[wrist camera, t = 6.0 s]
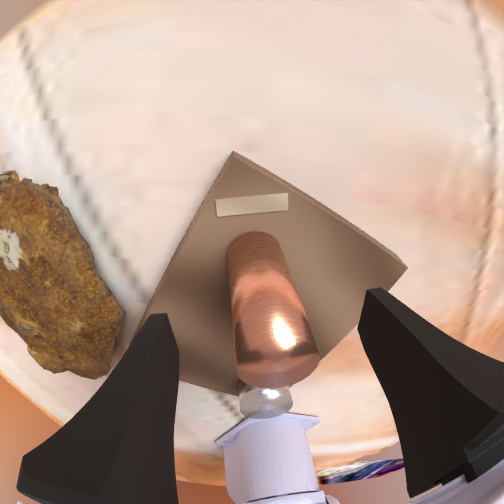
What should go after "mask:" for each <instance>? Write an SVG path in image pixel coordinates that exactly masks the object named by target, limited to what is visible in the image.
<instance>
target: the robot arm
mask: <svg viewBox="0 0 504 504" xmlns="http://www.w3.org/2000/svg"><path fill="white" fill-rule="evenodd" d="M357 329H358V332H359V335H360V338H361V342H362V344H363V347H364V350H365V353H366V355H367V357H368V359H369V361H370V363H371V365H372V367H373V369H374V372H375V374H376V376H377V378H378V380H379V382H380V384H381V386H382V388H383V390H384V393H385V395H386V397H387V400H388V402H389V405H390V408H391V411H392V414H393V417H394V421H395V424H396V428H397V432H398V436H399V440H400V443H401V449H402V454H403V459H404V465H405V472H406V482H407V491H408V494H409V497H410V498H413V497H415V496H417V495H419V494H421V493H423V492H426V491H427V490H430V489H431V488H434V487H435V486H437V485H439V484H441V483H442V487H440V488H438V489H436V490H434V491H432V492H431V493H429V494H426V495H424V496H422V497H421V498H418V499H416V500H414V501H411V502H409V503H407V504H504V362H501V361H498V360H496V359H493V358H491V357H489V356H486V355H484V354H482V353H480V352H478V351H476V350H474V349H472V348H470V347H468V346H466V345H464V344H462V343H461V342H459V341H457V340H455V339H454V338H452V337H450V336H449V335H447V334H446V333H444V332H443V331H441V330H440V329H438V328H437V327H435V326H434V325H432V324H431V323H429V322H428V321H426V320H425V319H424V318H422V317H421V316H419V315H418V314H417V313H415V312H414V311H413V310H411V309H410V308H409V307H407V306H406V305H405V304H403V303H402V302H401V301H399V300H398V299H397V298H395V297H394V296H393V295H391V294H390V293H388V292H387V291H386V290H384V289H383V288H381V287H379V288H373V289H367V290H366V294H365V299H364V303H363V308H362V312H361V316H360V320H359V324H358V328H357ZM179 366H180V364H179V348H178V346H177V343H176V340H175V337H174V334H173V331H172V328H171V325H170V321H169V318H168V315H167V313H158V314H150V315H149V316H148V318H147V320H146V321H145V323H144V324H143V326H142V328H141V329H140V331H139V332H138V334H137V335H136V337H135V339H134V340H133V342H132V343H131V345H130V346H129V348H128V349H127V351H126V352H125V354H124V355H123V357H122V359H121V360H120V361H119V363H118V364H117V366H116V367H115V368H114V370H113V371H112V373H111V374H110V375H109V377H108V378H107V379H106V381H105V382H104V383H103V385H102V386H101V387H100V388H99V389H98V391H97V392H96V393H95V394H94V395H93V397H92V398H91V399H90V400H89V401H88V402H87V403H86V404H85V405H84V406H83V408H82V409H81V410H80V411H79V412H78V413H77V414H76V415H75V416H74V417H73V418H72V419H71V420H70V421H69V422H67V423H66V424H65V425H64V426H63V427H62V428H61V429H59V430H58V431H57V432H56V433H55V434H53V435H52V436H51V437H50V438H48V439H47V440H46V441H45V442H43V443H42V444H40V445H39V446H37V447H36V448H35V449H33V450H32V451H30V452H29V453H27V454H25V455H24V456H23V459H22V463H21V467H20V472H19V476H18V481H17V487H16V488H17V490H18V491H19V492H20V493H22V494H23V495H25V496H27V497H29V498H31V499H33V500H35V501H37V502H39V503H41V504H179V503H178V495H177V488H176V477H175V463H174V422H175V412H176V403H177V394H178V385H179ZM320 421H321V419H320V417H314V416H306V415H298V414H291V413H284V414H282V415H280V416H277V417H273V418H268V419H253V418H249V417H248V418H247V419H245V420H244V421H243V422H241V423H240V424H239V425H237V426H236V427H235V428H233V429H232V430H231V431H229V432H228V433H227V434H225V435H224V436H222V437H221V438H220V439H218V440H217V441H216V445H219V446H223V452H224V466H225V479H226V488H227V491H228V494H229V495H230V497H231V498H232V500H233V501H234V502H235V503H237V504H340V503H339V502H338V500H337V499H335V498H333V497H332V496H330V495H328V496H325V495H324V491H320V490H319V486H318V482H317V477H316V473H315V469H314V465H313V460H312V456H311V452H310V448H309V444H308V439H307V435H306V431H307V430H308V429H310V428H312V427H313V426H315V425H316V424H318V423H319V422H320ZM17 504H26V503H23V502H21V501H18V502H17Z"/></svg>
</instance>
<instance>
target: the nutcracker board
mask: <svg viewBox="0 0 504 504" xmlns="http://www.w3.org/2000/svg"><path fill="white" fill-rule="evenodd" d="M253 231H261V232H265V233H268V234H270V235H272V236H273V237H275V238H276V239H277V241H278V242H279V243H280V246H281V248H282V251H283V253H284V256H285V259H286V262H287V264H288V267H289V270H290V272H291V275H292V278H293V280H294V283H295V286H296V289H297V291H298V294H299V297H300V300H301V302H302V305H303V308H304V311H305V314H306V316H307V319H308V322H309V325H310V328H311V330H312V333H313V336H314V339H315V342H316V345H317V348H318V350H319V354H320V360H321V359H322V358H324V357H325V356H326V355H327V354H328V353H329V352H330V351H331V350H332V349H333V348H334V347H335V346H336V345H337V344H338V343H339V342H340V341H341V340H342V339H343V338H344V337H345V336H346V335H347V334H348V333H349V332H350V331H351V330H352V329H353V328H354V327H355V326H356V325H357V324H358V323H359V320H360V316H361V312H362V308H363V303H364V299H365V294H366V290H367V289H373V288H379V287H381V288H383V289H384V290H386V291H387V292H388V291H389V290H390V289H391V287H392V286H393V285H394V284H395V283H396V282H397V280H398V279H399V278H400V277H401V276H402V275H403V273H404V272H405V271H406V270H407V269H408V267H407V266H406V265H405V264H404V263H403V262H402V260H401V259H400V258H399V257H398V256H397V255H396V254H395V253H393V252H392V251H391V250H389V249H388V248H386V247H385V246H384V245H382V244H381V243H379V242H378V241H377V240H375V239H374V238H372V237H371V236H369V235H368V234H367V233H365V232H364V231H362V230H361V229H359V228H358V227H356V226H355V225H353V224H352V223H350V222H349V221H347V220H346V219H344V218H343V217H341V216H340V215H338V214H337V213H335V212H334V211H332V210H331V209H329V208H328V207H326V206H325V205H323V204H322V203H320V202H318V201H317V200H315V199H314V198H312V197H311V196H309V195H307V194H306V193H304V192H303V191H301V190H299V189H298V188H296V187H294V186H293V185H291V184H290V183H288V182H286V181H285V180H283V179H281V178H280V177H278V176H276V175H275V174H273V173H271V172H269V171H268V170H266V169H264V168H263V167H261V166H259V165H257V164H256V163H254V162H252V161H250V160H249V159H247V158H245V157H243V156H242V155H240V154H238V153H236V152H234V151H233V152H232V154H231V155H230V157H229V159H228V160H227V162H226V164H225V165H224V167H223V169H222V170H221V172H220V174H219V175H218V177H217V179H216V180H215V182H214V184H213V185H212V187H211V189H210V191H209V192H208V194H207V196H206V198H205V199H204V201H203V203H202V204H201V206H200V208H199V210H198V212H197V213H196V215H195V217H194V219H193V220H192V222H191V224H190V226H189V228H188V230H187V231H186V233H185V235H184V237H183V239H182V241H181V242H180V244H179V246H178V248H177V250H176V252H175V254H174V256H173V257H172V259H171V261H170V263H169V265H168V267H167V269H166V271H165V273H164V275H163V277H162V279H161V281H160V283H159V285H158V287H157V289H156V291H155V293H154V295H153V297H152V299H151V301H150V303H149V305H148V307H147V309H146V311H145V313H144V315H143V317H142V320H141V322H140V324H139V326H138V328H137V330H136V332H135V334H134V337H133V339H132V341H131V343H132V342H133V340H134V339H135V337H136V335H137V334H138V332H139V331H140V329H141V328H142V326H143V324H144V323H145V321H146V320H147V318H148V316H149V315H150V314H158V313H167V315H168V318H169V321H170V325H171V328H172V331H173V334H174V337H175V340H176V343H177V346H178V348H179V364H180V366H179V380H180V381H184V382H187V383H190V384H194V385H197V386H201V387H204V388H208V389H212V390H216V391H220V392H224V393H228V394H232V395H236V396H239V391H238V384H239V382H240V381H241V379H240V378H239V376H238V374H237V370H236V359H235V348H234V336H233V324H232V311H231V298H230V284H229V270H228V250H229V248H230V246H231V244H232V243H233V241H234V240H235V239H236V238H238V237H239V236H241V235H243V234H245V233H248V232H253ZM131 343H130V345H131ZM130 345H129V346H130ZM320 360H319V361H320ZM292 385H293V384H292ZM292 385H289V388H290V387H291V386H292Z"/></svg>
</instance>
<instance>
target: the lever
mask: <svg viewBox="0 0 504 504" xmlns="http://www.w3.org/2000/svg"><path fill="white" fill-rule="evenodd" d="M228 270H229V284H230V298H231V311H232V324H233V336H234V348H235V359H236V370H237V374H238V376H239V378H240V379H241V381H240V382H239V384H238V391H239V401H240V411H241V413H242V414H243V415H244V416H246V417H249V418H253V419H268V418H273V417H277V416H280V415H282V414H284V413H286V412H287V411H288V410H290V409H291V407H292V405H293V402H292V397H291V393H290V388H289V385H292V384H295V383H297V382H299V381H301V380H303V379H305V378H306V377H307V376H309V375H310V374H311V373H312V372H313V371H314V370H315V369H316V367H317V365H318V363H319V360H320V354H319V350H318V348H317V345H316V342H315V339H314V336H313V333H312V330H311V328H310V325H309V322H308V319H307V316H306V314H305V311H304V308H303V305H302V302H301V300H300V297H299V294H298V291H297V289H296V286H295V283H294V280H293V278H292V275H291V272H290V270H289V267H288V264H287V262H286V259H285V256H284V253H283V251H282V248H281V246H280V243H279V242H278V241H277V239H276V238H275V237H273V236H272V235H270V234H268V233H265V232H261V231H253V232H248V233H245V234H243V235H241V236H239V237H238V238H236V239H235V240H234V241H233V243H232V244H231V246H230V248H229V250H228Z"/></svg>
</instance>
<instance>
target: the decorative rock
mask: <svg viewBox="0 0 504 504" xmlns="http://www.w3.org/2000/svg"><path fill="white" fill-rule="evenodd" d="M125 315H126V313H125V311H124V310H123V309H122V308H121V307H120V305H119V304H118V302H117V300H116V298H115V297H114V295H113V294H112V292H111V291H110V290H109V288H108V287H107V285H106V284H105V282H104V281H103V280H102V279H101V278H100V276H99V274H98V272H97V270H96V269H95V267H94V257H93V254H92V251H91V248H90V245H89V244H88V242H87V241H86V240H85V239H84V238H83V236H82V235H81V234H80V232H79V230H78V228H77V227H76V225H75V223H74V221H73V219H72V216H71V214H70V211H69V209H68V208H67V207H65V206H63V205H61V199H60V198H59V197H58V193H57V187H50V186H49V185H48V184H42V185H41V186H40V185H38V184H34V183H32V180H31V179H26V178H24V179H23V180H22V181H21V182H20V181H19V177H18V174H17V173H16V171H6V172H4V173H3V174H0V316H1V317H2V318H3V320H4V321H5V322H6V324H7V325H8V326H9V327H10V328H12V329H13V330H14V331H15V332H17V333H18V334H19V335H20V337H21V338H22V339H23V340H24V341H25V342H26V343H27V344H28V347H27V350H28V352H29V354H30V355H31V356H32V357H33V358H34V360H35V361H36V362H37V363H38V364H39V365H40V366H41V367H42V368H43V369H45V370H49V371H51V372H52V373H54V374H55V373H59V372H65V371H67V370H68V371H71V372H73V373H74V374H76V375H79V376H81V377H85V378H90V379H94V380H95V379H97V378H99V377H101V376H103V375H107V373H108V372H109V370H110V369H111V367H110V365H109V364H110V363H111V358H112V356H113V354H114V344H115V337H116V336H117V335H119V334H120V329H121V324H122V321H123V319H124V317H125Z"/></svg>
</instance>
